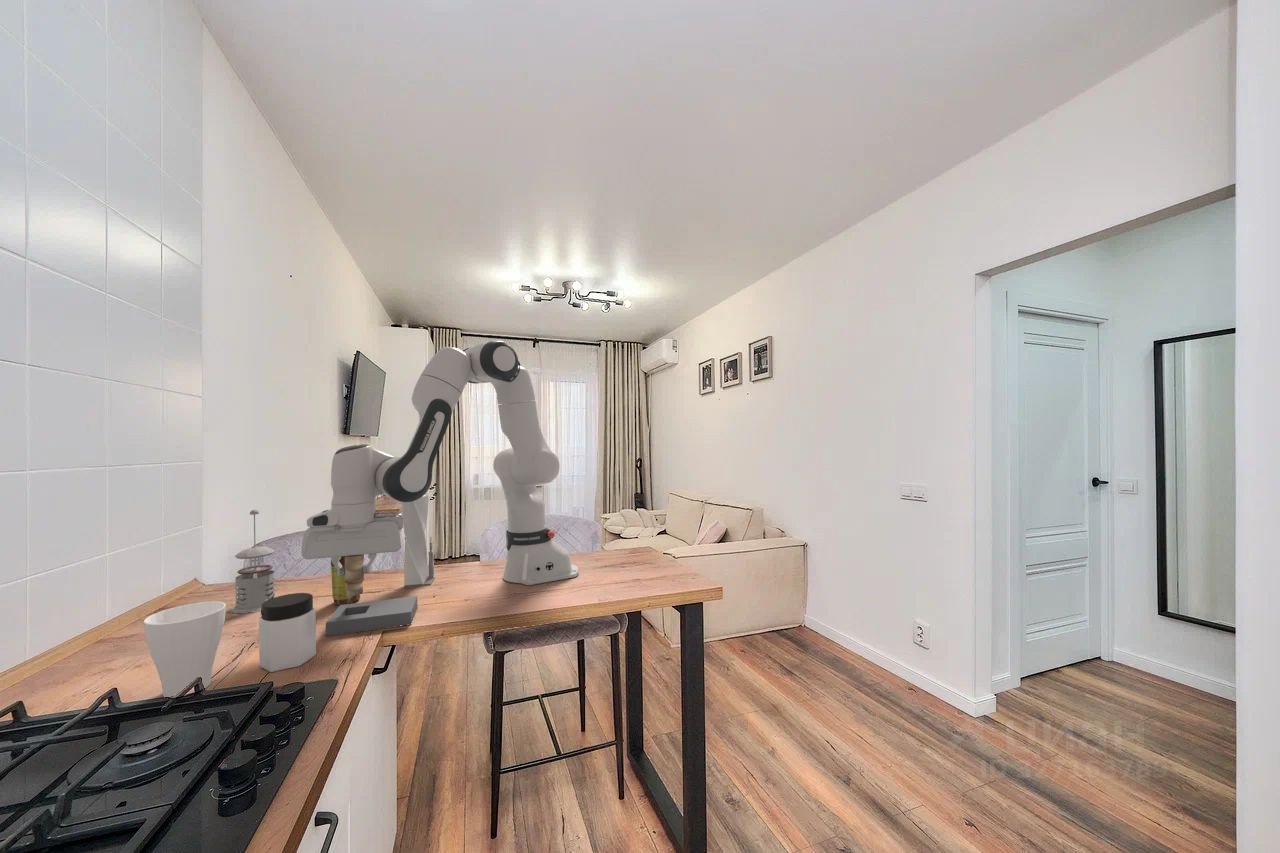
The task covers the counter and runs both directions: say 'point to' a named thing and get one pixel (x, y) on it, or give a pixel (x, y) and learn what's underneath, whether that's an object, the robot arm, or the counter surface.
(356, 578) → the peg
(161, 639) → the cup
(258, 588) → the french press
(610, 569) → the counter surface
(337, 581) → the sauce bottle
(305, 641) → the jar
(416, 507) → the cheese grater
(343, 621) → the board
